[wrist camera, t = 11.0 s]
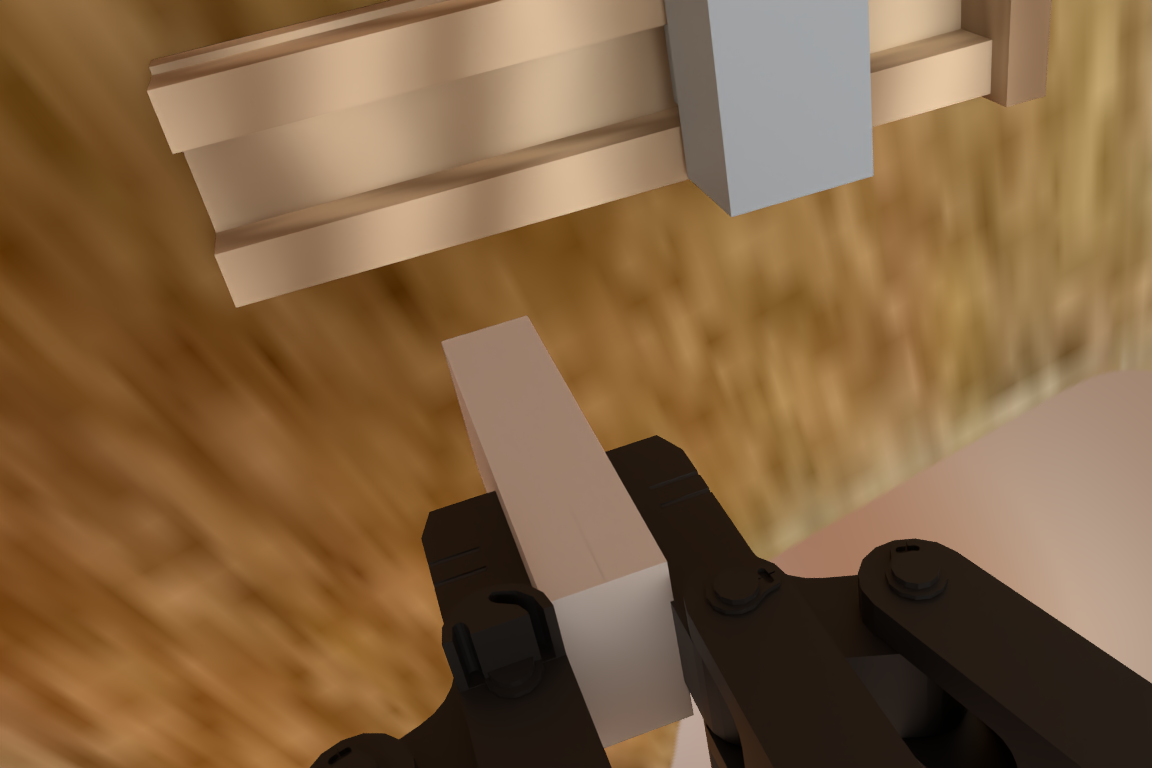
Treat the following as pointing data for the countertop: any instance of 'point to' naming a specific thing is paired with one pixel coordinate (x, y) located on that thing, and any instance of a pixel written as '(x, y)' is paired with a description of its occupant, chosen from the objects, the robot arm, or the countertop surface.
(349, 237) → the rail
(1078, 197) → the countertop surface
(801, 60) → the rider
